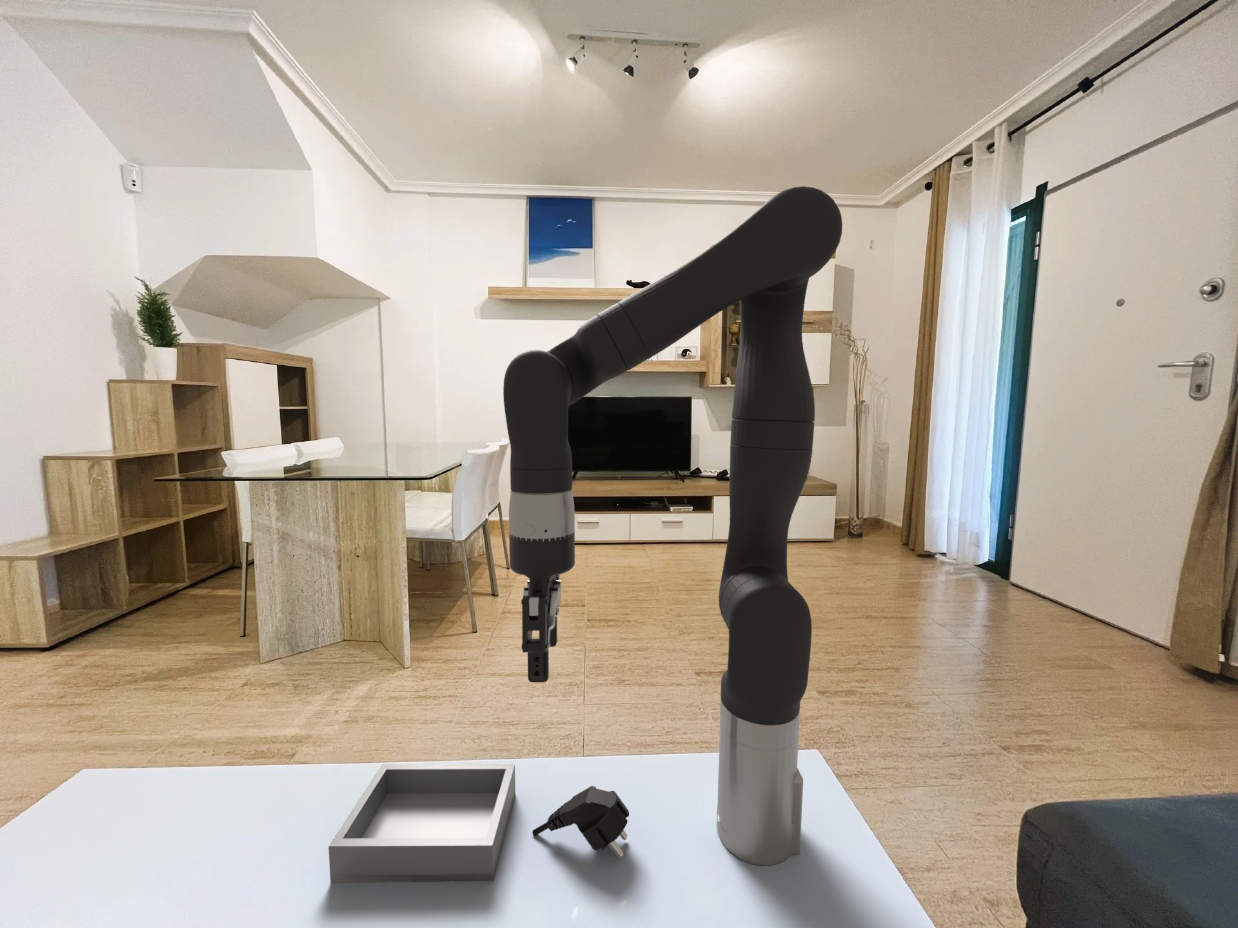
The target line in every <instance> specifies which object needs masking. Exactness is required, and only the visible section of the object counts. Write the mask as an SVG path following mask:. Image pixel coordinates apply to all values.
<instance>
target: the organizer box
mask: <svg viewBox="0 0 1238 928" xmlns="http://www.w3.org/2000/svg"><path fill="white" fill-rule="evenodd" d="M515 798H516V764H515V763H386V764H385V763H382V764H381V766H380V767H379V768H378V770H377V772H376V773H375V774H374V776H373V777H372V779H371V781H370V782H369V783H368V785H367V787H366V788H365V790H364V791H363V793H362V795H361V796H360V797H359V799H358V801H357V802H356V803H355V805H354V807H353V808H352V809H351V811H350V813H349V814H348V815H347V818H346V819H345V820H344V822H343V823H342V825H341V826H340V828H339V829H338V831H337V832H336V834H335V835H334V837H333V838H332V840H331V841H330V843H329V845H328V860H329V861H328V862H329V876H330V877H329V879H330V884H371V883H373V884H374V883H375V884H377V883H378V884H380V883H381V884H382V883H387V884H388V883H389V884H390V883H443V882H444V883H445V882H446V883H447V882H448V883H450V882H453V883H454V882H455V883H456V882H493V881H494V879H495V875H496V872H497V871H496V870H497V867H498V863H499V860H500V856H501V852H502V848H503V845H504V840H505V837H506V833H507V829H508V825H509V821H510V818H511V813H512V809H513V805H514V802H515Z"/></svg>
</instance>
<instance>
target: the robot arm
mask: <svg viewBox="0 0 1238 928" xmlns="http://www.w3.org/2000/svg"><path fill="white" fill-rule="evenodd" d="M842 234H843V219H842V213H841V210H840V208H839V206H838V205H837V203H836V201H835V200H834V199H833V198H832V197H831V196H830V195H829V194H827V193H826V192H825V191H823V190H821V189H819V188H816V187H811V186H805V185H802V186H794V187H791V188H788V189H784V190H782V191H780V192H778V193H776V194H775V195H774V196H772V197H770V199H768V200H767V201H766V202H765V203H763V205H762V206H761V207H760V208H759V209H758V210H757V211H755V212H754V213H753V214H752V215H751V216H750V217H748V218H747V219H746V220H745V221H744V222H742V223H741V224H740V225H739V226H737V227H736V228H735V229H734V230H732V231H731V232H730V233H728V234H727V235H726V236H724V237H723V238H722V239H720V240H719V241H717V242H716V243H715V244H713V245H712V246H710V247H709V248H708V249H706V250H705V251H703V252H701V253H699V254H698V255H697V256H696V257H695V258H692V259H691V260H689V261H688V262H687V263H685V264H683V265H681V266H680V267H677V268H676V269H674V270H673V271H671V272H670V273H667V274H665V275H664V276H661V277H660V278H659V279H657V280H656V281H653V282H652V283H650V284H648V285H647V286H645V287H643V288H640V289H639V290H638V291H635V292H634V293H632V294H630V295H629V296H627V297H625V298H623V299H621V300H619V301H618V302H616V303H615V304H613V305H610V306H609V307H608V308H606V309H604V310H602V311H600V312H598V314H597V315H594V316H592V317H591V318H589V319H588V320H586V321H585V322H584V323H582V325H580V326H579V327H578V329H577V331H576V332H575V333H574V334H573V335H571V336H570V337H568V338H567V339H565V340H563V341H562V342H560V343H559V344H557V345H555V346H553V347H552V348H550V349H548V350H547V351H546V350H540V349H529V350H527V351H526V350H525V351H523V352H521V353H519V354H518V355H516V356H514V358H513V359H512V360H511V362H510V363H509V364H508V366H507V368H506V369H505V373H504V377H503V390H502V391H503V392H502V395H503V405H504V406H503V407H504V413H505V414H504V415H505V422H506V429H507V434H508V441H509V445H510V461H509V464H510V465H509V466H510V467H509V473H510V475H509V477H510V481H509V482H510V483H509V484H510V497H509V506H508V537H509V538H508V543H509V545H508V546H509V569H510V570H511V571H512V572H513V573H515V574H517V575H522V576H524V577H527V578H528V580H527V583H526V585H527V586H526V587H524V588H523V594H522V599H521V600H520V601H521V602H520V604H521V607H522V608H521V618H522V619H521V621H522V622H521V623H522V625H521V630H522V634H521V636H522V637H521V638H522V640H521V641H522V643H521V651H522V653H527V680H528V682H529V683H547V681H548V680H549V677H550V668H549V667H550V666H549V665H550V662H549V661H550V659H549V657H550V656H549V655H550V654H549V648H550V647H551V648H553V647H556V646H557V643H558V616H559V613H560V608H559V607H560V606H561V601H562V600H561V599H562V596H561V595H562V579H560V575H562V574H564V573H567V572H569V571H571V570H572V569H573V568H574V567H575V563H576V549H575V548H576V545H575V544H576V536H575V535H576V532H575V531H576V530H575V529H576V528H575V526H576V525H575V523H576V522H575V521H576V520H575V519H576V517H575V502H574V495H573V494H574V493H573V457H572V450H571V446H570V443H569V438H568V437H569V434H568V433H569V407H570V406H571V405H574V404H575V403H576V402H577V401H579V400H580V399H582V398H584V397H585V396H587V395H588V394H590V393H591V392H592V391H594V390H595V389H597V388H598V387H600V386H601V385H602V384H604V383H605V382H607V381H610V380H612V379H614V378H616V377H619V376H621V375H623V374H625V373H627V372H628V371H630V370H632V369H634V368H635V367H637V366H639V365H640V364H642V363H644V362H646V361H647V360H650V359H651V358H653V357H654V356H656V355H658V354H660V353H661V352H663V351H664V350H666V349H667V348H669V347H671V346H672V345H674V344H675V343H676V342H678V341H680V340H681V339H682V338H684V337H686V336H687V335H688V334H689V333H691V332H692V331H694V330H695V329H697V328H698V327H700V326H701V325H702V324H704V323H705V322H707V321H708V320H709V319H712V318H713V317H714V316H716V315H717V314H719V313H721V312H722V311H724V310H725V309H727V308H729V307H730V306H732V305H734V304H736V303H738V302H739V315H740V333H739V334H740V336H739V346H738V353H737V354H738V355H737V363H736V369H735V378H734V379H735V381H734V390H733V401H732V411H731V412H732V413H731V425H730V426H731V429H730V440H729V441H730V447H729V484H728V486H729V491H728V492H729V527H728V536H727V544H726V549H725V556H724V561H723V567H722V574H721V578H720V584H719V591H718V606H719V611H720V615H721V618H722V619H723V621H724V623H725V626H726V627H727V629H728V654H727V655H728V656H727V669H726V670H725V671H724V672H723V674H722V676H721V681H720V705H719V706H720V707H719V709H720V710H719V711H720V712H719V715H720V716H719V743H718V744H719V745H718V775H717V776H718V779H717V806H716V807H717V808H716V830H717V834H718V837H719V839H720V841H721V842H722V844H723V846H724V848H726V849H727V850H728V851H729V852H730V853H732V854H733V855H734V856H736V858H739V859H741V861H744V862H747V863H750V864H752V865H757V866H758V865H759V866H772V865H778V864H780V863H782V862H784V861H785V860H786V859H787V858H789V857H790V856H791V855H797V854H798V855H800V853H801V840H802V839H801V838H802V837H801V836H802V818H803V817H802V816H803V798H804V797H803V795H804V794H803V793H804V791H803V790H804V779H803V775H802V774H801V771H800V770H799V768H798V760H799V759H798V757H799V755H798V754H799V737H800V736H799V735H800V733H799V732H800V731H799V730H800V713H801V712H800V711H801V701H802V699H803V697H804V695H805V693H806V691H807V687H808V681H809V672H810V671H809V669H810V663H811V662H810V660H811V650H812V649H811V648H812V635H813V634H812V633H813V631H812V630H813V629H812V628H813V627H812V626H813V625H812V616H811V615H812V614H811V610H810V607H809V605H808V603H807V602H806V600H805V598H804V596H803V595H802V594H801V593H800V592H799V591H798V590H797V588H795V587H794V586H793V585H792V584H791V583H790V582H789V578H788V577H789V576H788V535H789V528H790V523H791V520H792V517H793V516H792V515H794V510H795V508H796V506H797V503H798V501H799V498H800V496H801V494H802V491H803V488H804V486H805V484H806V481H807V478H808V475H809V471H810V467H811V462H812V457H813V446H814V431H815V419H816V408H815V407H816V405H815V397H814V396H815V395H814V390H813V385H812V380H811V377H810V371H809V367H808V363H807V360H806V355H805V354H806V353H805V350H804V342H803V321H804V320H803V318H804V310H805V301H806V297H807V296H806V295H807V289H808V285H809V279H810V278H811V277H813V276H814V275H816V274H817V273H818V272H819V271H821V270H822V269H823V268H824V267H825V265H827V264H828V262H829V261H830V260H831V258H832V257H833V255H834V254H835V253H836V251H837V249H838V247H839V245H840V242H841V238H842ZM536 631H537V632H538V637H539V638H533V632H536Z"/></svg>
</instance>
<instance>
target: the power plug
mask: <svg viewBox="0 0 1238 928" xmlns="http://www.w3.org/2000/svg"><path fill="white" fill-rule="evenodd" d="M629 817H630V810H629V809H628V807H627V806H626V805H625V804H624V802H623V801H622V799H621V797H620V796H618V793H616V791H615V790H610V791H608V790H604V789H599V788H597V786H595V785H591V786H589V787H587V788H586V789H584V790H582V791H580V792H579V793H577V794H575V795H573V796H572V798H571V799H569V800H568V801H566V802H565V803H563V805H561V806H559V808H557V809H556V810H555V811H554V812H553V813H551V814H550V815H549V816H548V818H547V821H546V822H544V823H543V824H541V825H539V826H538V827H536V828H534V829H533V830H532V835H533V836H534V837H536V836H537V835H539V834H541V833H543V832H544V831H546V830H548V829H549V831H550V832H554V831H556V830H559V829H562V828H565V827H569V826H572V825H576V827H577V829H578V830H579V832H580V833H581V835H582V836H583V838H585V840H586V841H587V843H588V845H589V846H590V848H592V850H594V851H598V850H600V849H601V851H602V850H605V849H607V848H608V846H609V847H610V848H611V850H612V852H614V854H615V856H616V857H617V858H618V859H622V858H623V856H624V852H623V851H622V849H621V848H620V846H619V845H618V843H617V842H616V840H617V839H618V837H620V838H621V840H623V841H626V840H628V833H627V832H626V831H625V828H626V826H627V824H628V822H629V820H628V819H627V818H629Z"/></svg>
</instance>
